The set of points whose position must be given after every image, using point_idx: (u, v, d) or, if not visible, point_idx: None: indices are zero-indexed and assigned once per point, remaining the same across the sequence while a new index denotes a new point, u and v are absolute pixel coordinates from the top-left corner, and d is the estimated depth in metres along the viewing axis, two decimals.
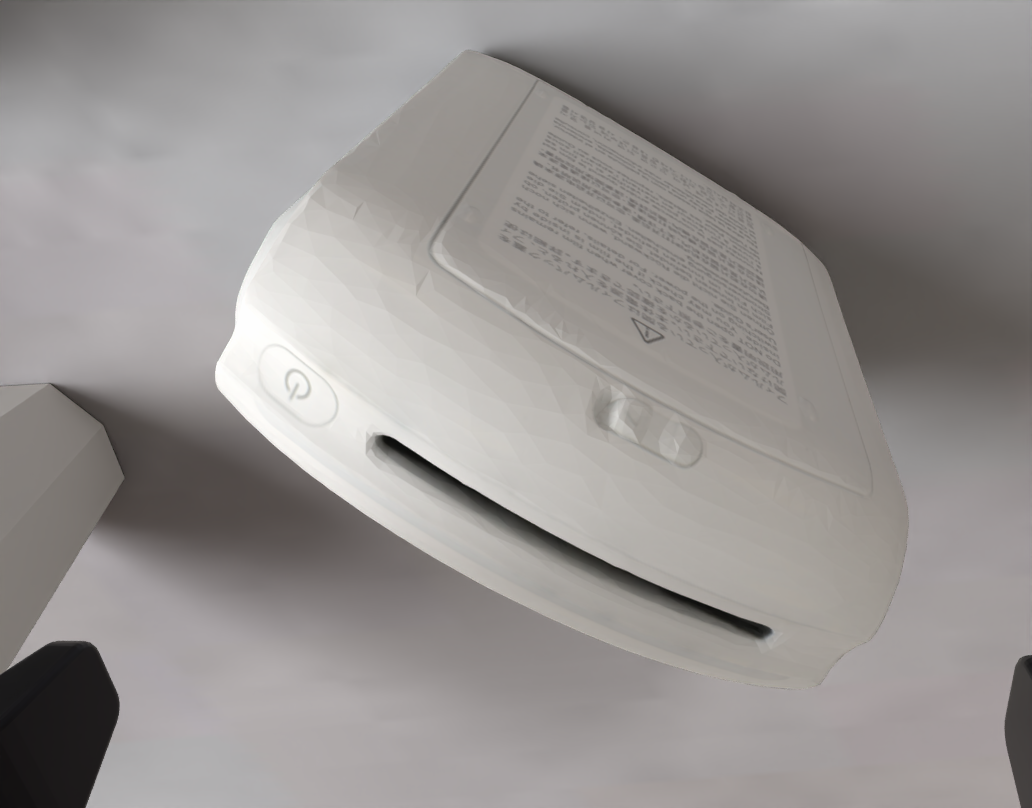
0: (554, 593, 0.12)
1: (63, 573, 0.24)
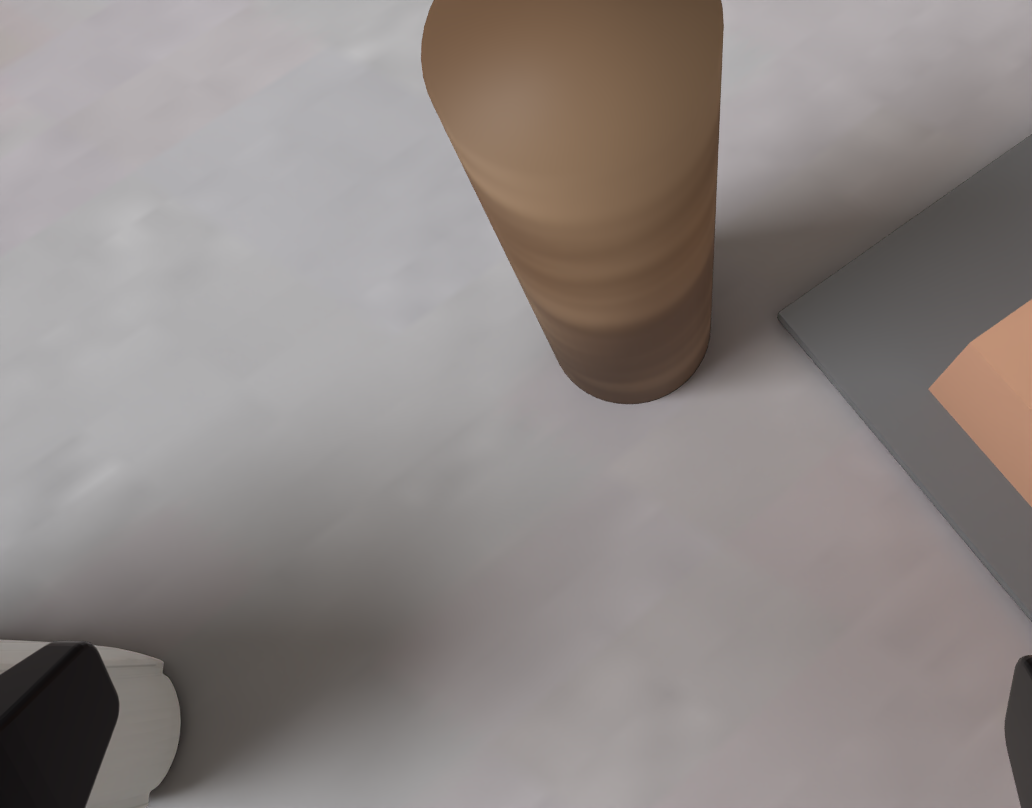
0: None
1: None
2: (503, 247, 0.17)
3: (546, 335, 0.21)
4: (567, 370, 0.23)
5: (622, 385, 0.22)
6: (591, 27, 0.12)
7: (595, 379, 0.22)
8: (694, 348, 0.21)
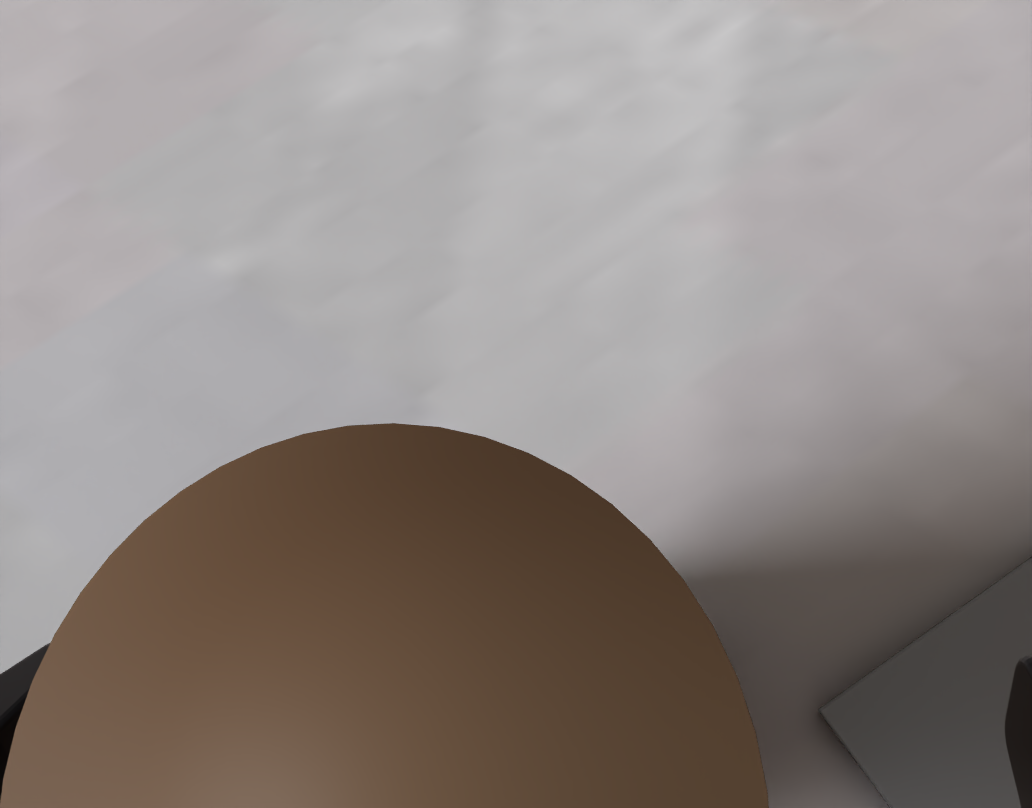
0: None
1: None
2: None
3: None
4: None
5: None
6: (416, 803, 0.05)
7: None
8: None
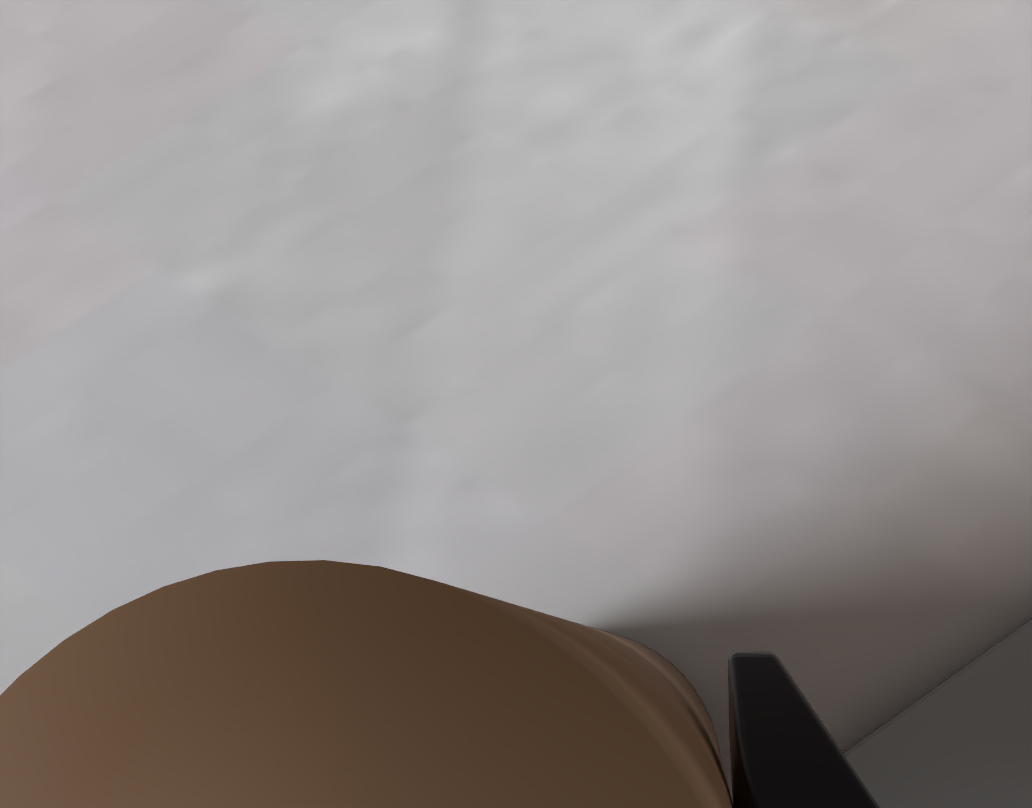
0: None
1: None
2: None
3: None
4: None
5: None
6: None
7: None
8: None
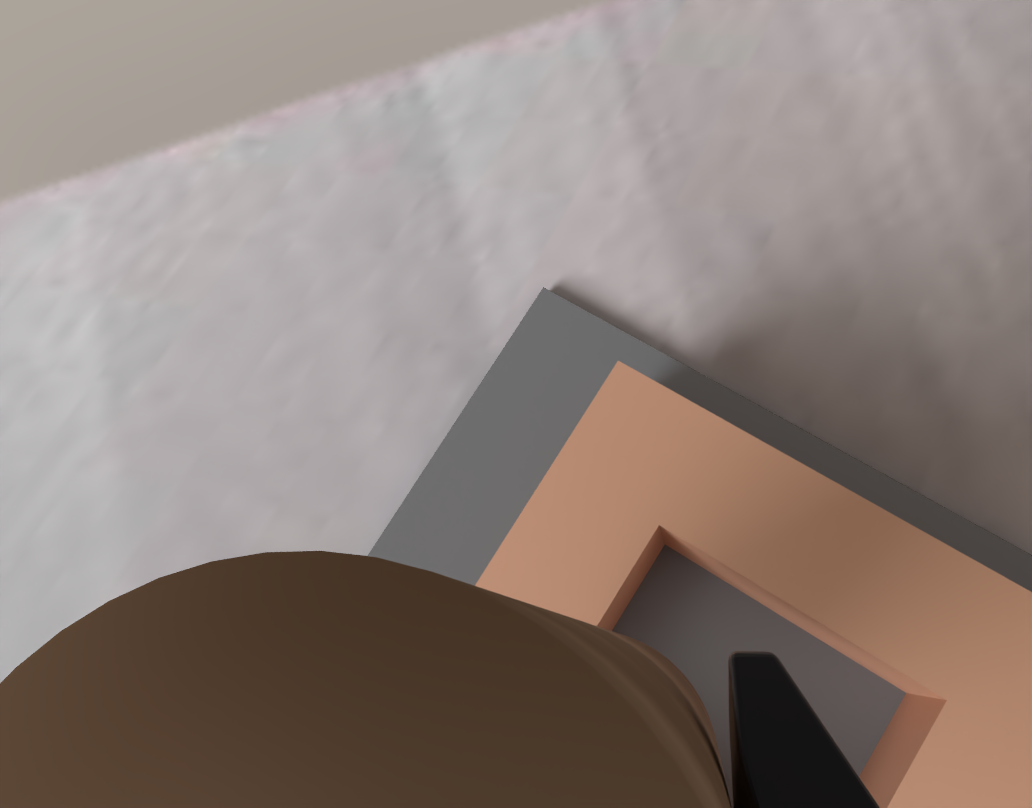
0: None
1: None
2: None
3: None
4: None
5: None
6: None
7: None
8: None
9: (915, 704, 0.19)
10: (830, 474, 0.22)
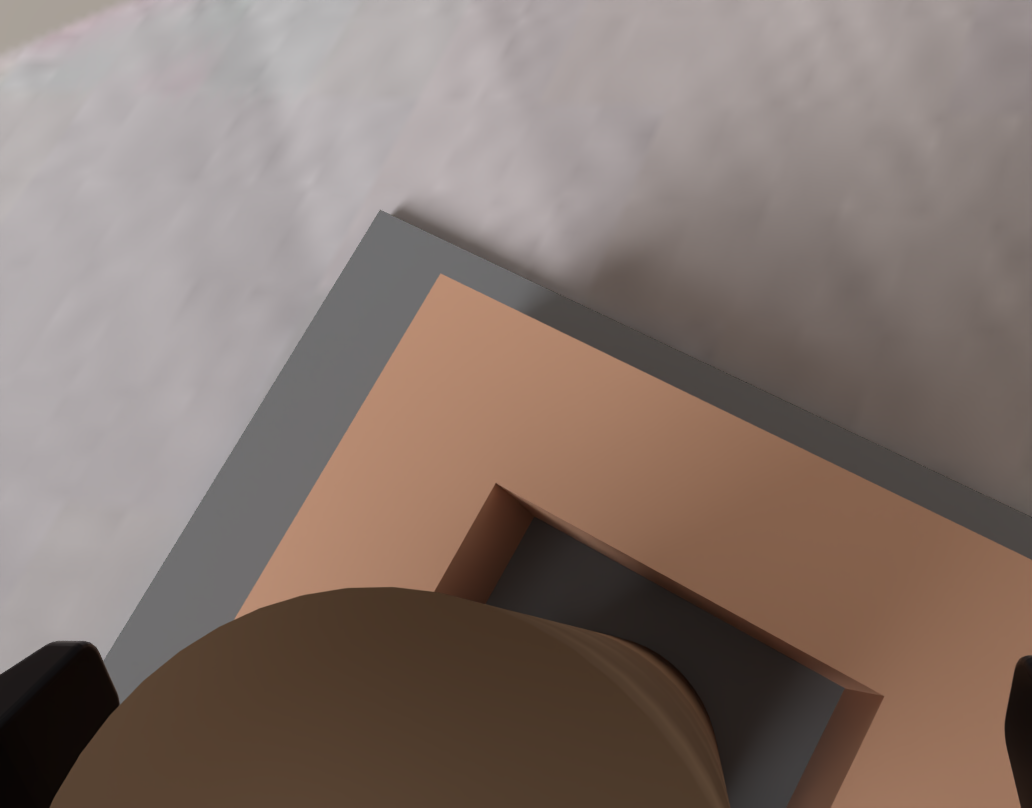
0: None
1: None
2: None
3: None
4: None
5: None
6: None
7: None
8: None
9: (852, 703, 0.14)
10: (738, 415, 0.17)
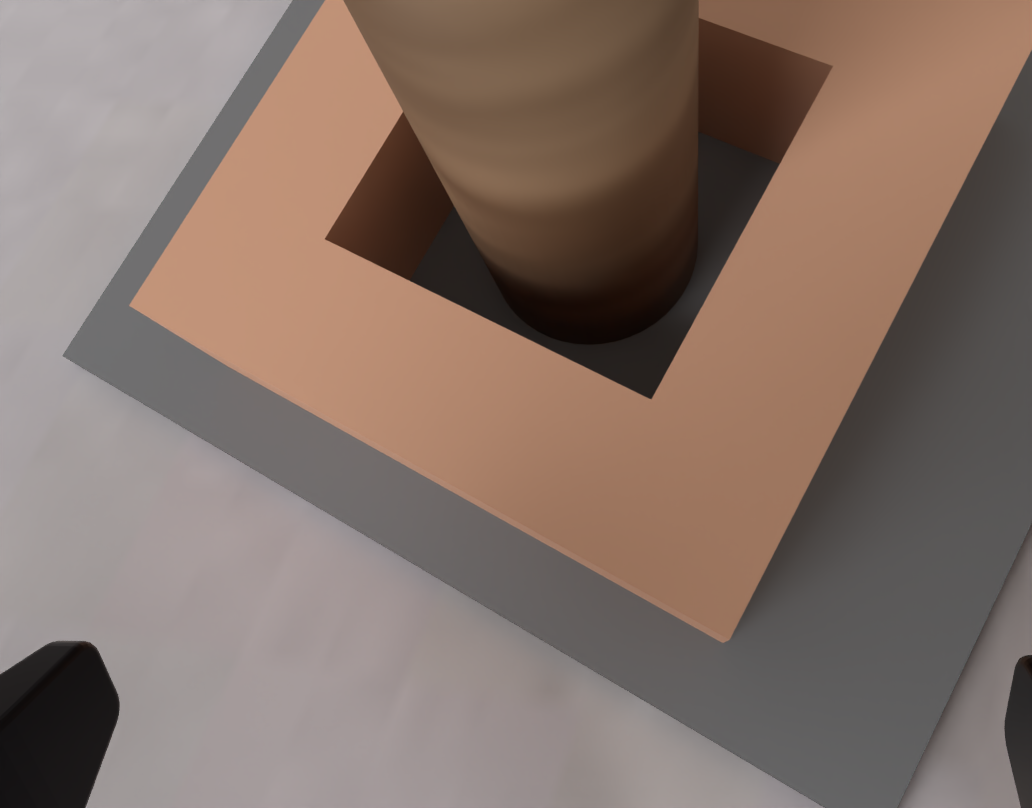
0: None
1: None
2: (382, 70, 0.11)
3: (475, 243, 0.16)
4: (509, 298, 0.17)
5: (579, 312, 0.16)
6: None
7: (543, 304, 0.16)
8: (675, 261, 0.16)
9: None
10: None
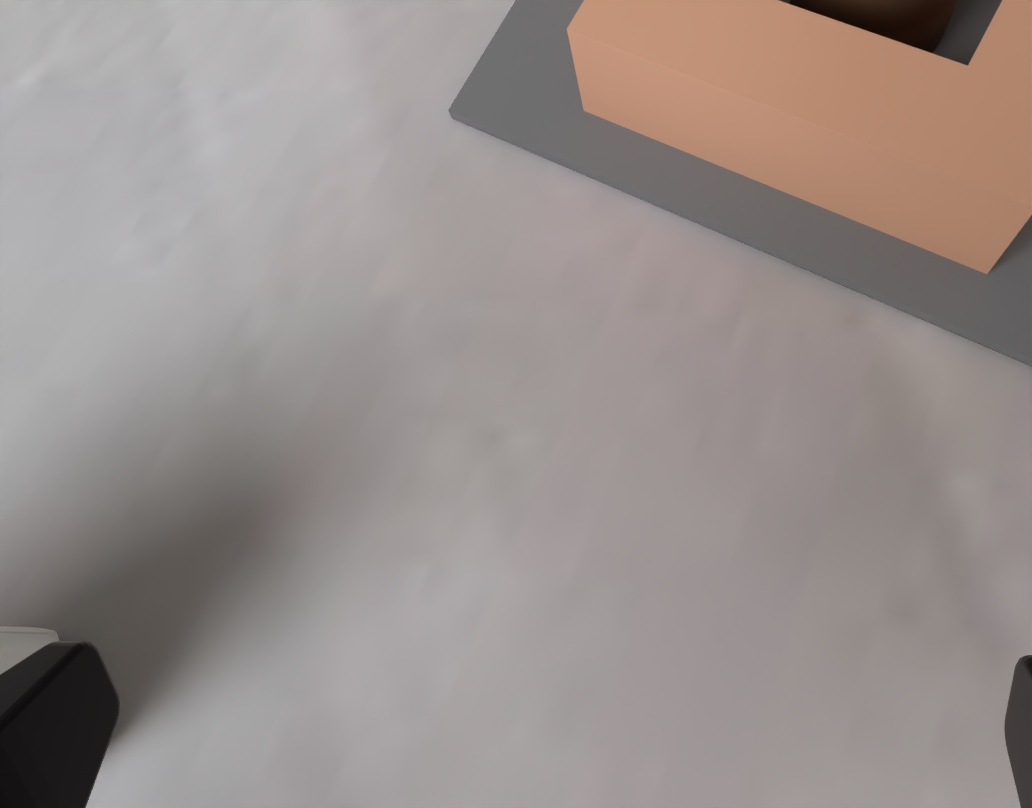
0: None
1: None
2: None
3: None
4: None
5: None
6: None
7: None
8: (954, 0, 0.22)
9: None
10: None
